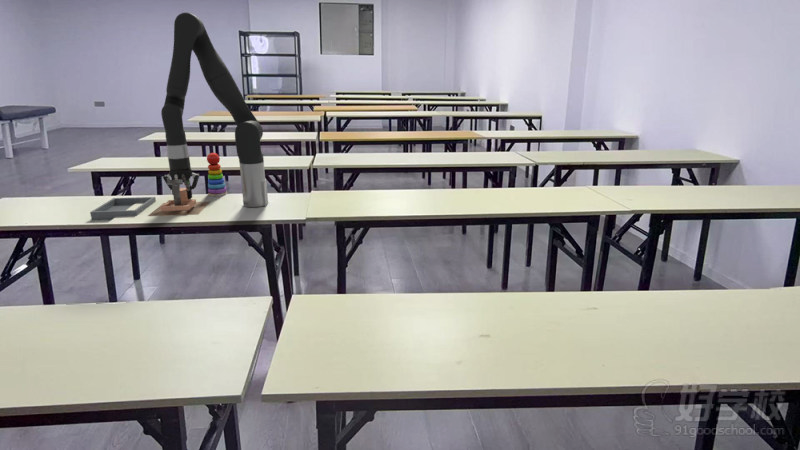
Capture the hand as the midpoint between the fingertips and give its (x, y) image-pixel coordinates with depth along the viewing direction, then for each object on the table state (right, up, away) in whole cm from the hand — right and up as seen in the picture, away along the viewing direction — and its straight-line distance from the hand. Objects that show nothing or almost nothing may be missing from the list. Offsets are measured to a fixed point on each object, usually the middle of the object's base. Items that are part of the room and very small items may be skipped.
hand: (184, 199), depth 203 cm
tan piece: (+1, -2, -5) cm, 6 cm away
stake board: (0, -5, -5) cm, 7 cm away
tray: (-21, -5, -5) cm, 22 cm away
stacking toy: (+7, +2, +17) cm, 19 cm away
